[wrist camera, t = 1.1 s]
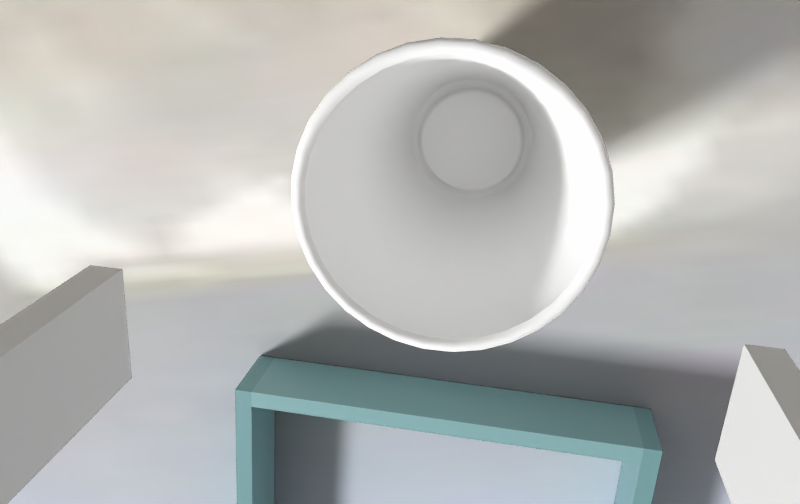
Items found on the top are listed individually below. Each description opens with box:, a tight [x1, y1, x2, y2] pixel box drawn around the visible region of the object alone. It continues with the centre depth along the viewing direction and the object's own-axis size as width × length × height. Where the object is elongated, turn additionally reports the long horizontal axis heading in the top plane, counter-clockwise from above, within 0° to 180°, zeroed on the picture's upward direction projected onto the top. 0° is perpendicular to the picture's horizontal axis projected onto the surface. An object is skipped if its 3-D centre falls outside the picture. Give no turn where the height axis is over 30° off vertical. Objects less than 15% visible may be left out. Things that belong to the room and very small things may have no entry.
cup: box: [291, 38, 615, 352], centre depth 28 cm, size 10×10×11 cm
